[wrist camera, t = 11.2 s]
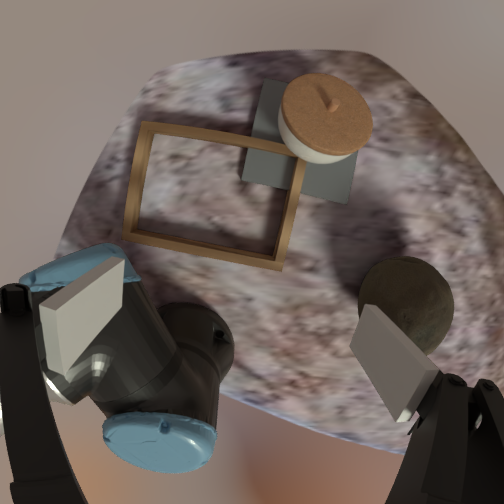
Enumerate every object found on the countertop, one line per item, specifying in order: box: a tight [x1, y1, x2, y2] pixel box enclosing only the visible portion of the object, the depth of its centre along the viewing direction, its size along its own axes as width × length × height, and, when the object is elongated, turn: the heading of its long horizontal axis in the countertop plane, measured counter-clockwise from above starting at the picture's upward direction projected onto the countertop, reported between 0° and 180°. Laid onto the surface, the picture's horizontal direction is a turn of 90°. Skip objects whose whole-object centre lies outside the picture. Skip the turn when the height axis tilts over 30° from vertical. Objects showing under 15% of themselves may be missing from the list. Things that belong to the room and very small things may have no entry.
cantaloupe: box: [358, 256, 454, 356], centre depth 36 cm, size 14×14×15 cm
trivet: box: [241, 78, 358, 205], centre depth 38 cm, size 15×15×1 cm
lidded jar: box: [278, 73, 373, 164], centre depth 31 cm, size 11×11×9 cm
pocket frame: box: [121, 121, 307, 272], centre depth 38 cm, size 16×22×3 cm
